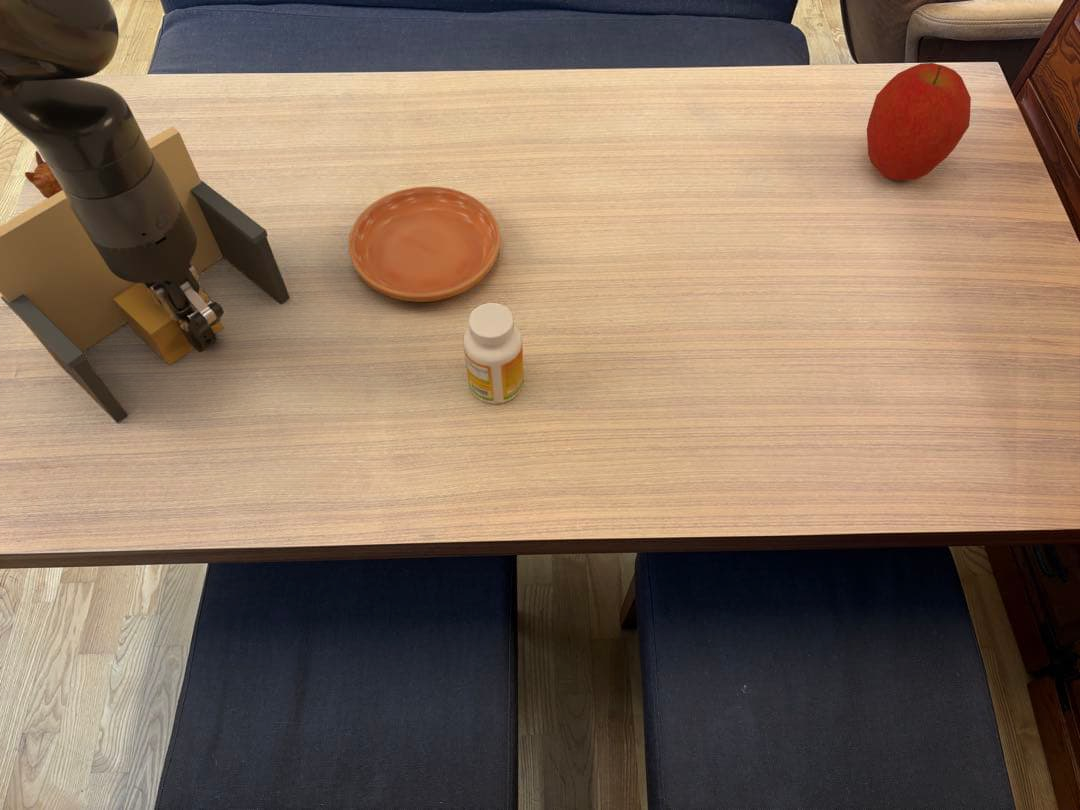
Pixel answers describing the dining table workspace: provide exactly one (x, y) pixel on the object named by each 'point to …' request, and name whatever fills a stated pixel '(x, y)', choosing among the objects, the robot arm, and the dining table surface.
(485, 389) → the supplement bottle
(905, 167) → the apple
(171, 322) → the box
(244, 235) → the small wooden bench
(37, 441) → the dining table surface
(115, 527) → the dining table surface
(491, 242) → the saucer
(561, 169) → the dining table surface
